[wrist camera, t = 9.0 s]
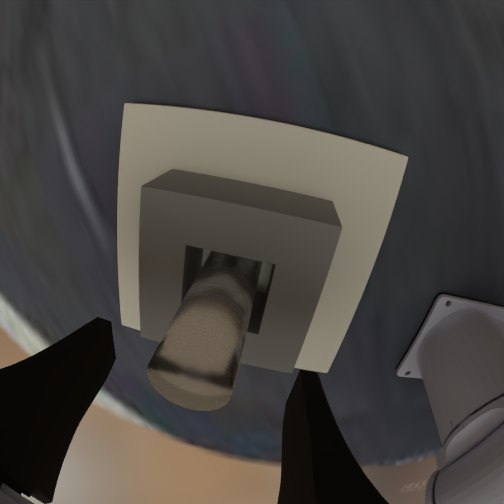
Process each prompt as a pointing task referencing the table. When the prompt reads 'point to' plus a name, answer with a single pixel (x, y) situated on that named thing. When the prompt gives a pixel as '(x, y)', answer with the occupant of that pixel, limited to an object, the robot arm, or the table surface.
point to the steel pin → (207, 335)
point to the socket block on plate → (251, 223)
